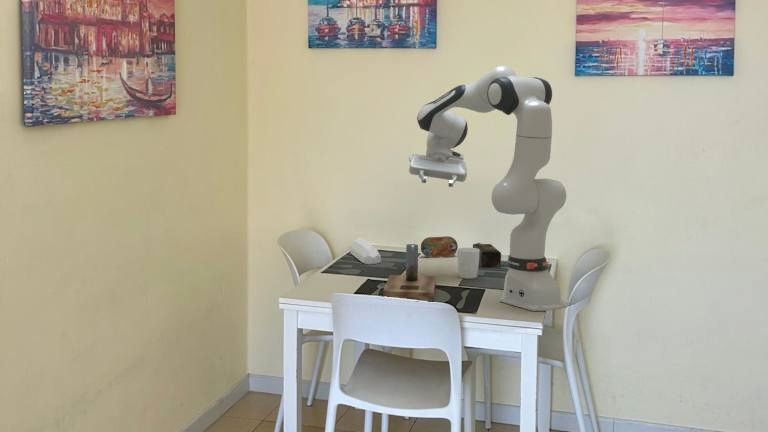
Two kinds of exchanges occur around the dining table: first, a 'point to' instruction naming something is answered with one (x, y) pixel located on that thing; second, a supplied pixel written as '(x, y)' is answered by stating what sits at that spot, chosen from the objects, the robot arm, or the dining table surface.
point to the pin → (411, 262)
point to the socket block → (410, 287)
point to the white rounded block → (365, 252)
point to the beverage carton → (488, 255)
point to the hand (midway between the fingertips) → (437, 183)
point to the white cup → (468, 262)
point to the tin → (439, 247)
